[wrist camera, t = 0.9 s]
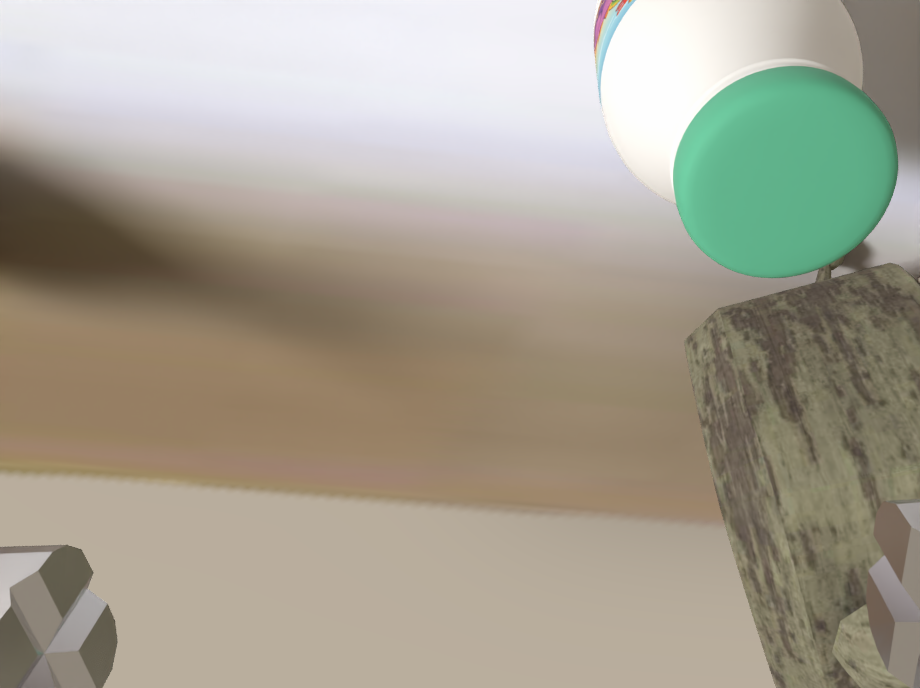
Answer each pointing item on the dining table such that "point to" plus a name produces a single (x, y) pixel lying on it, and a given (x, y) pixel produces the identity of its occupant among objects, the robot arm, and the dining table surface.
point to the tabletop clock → (812, 457)
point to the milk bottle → (748, 125)
